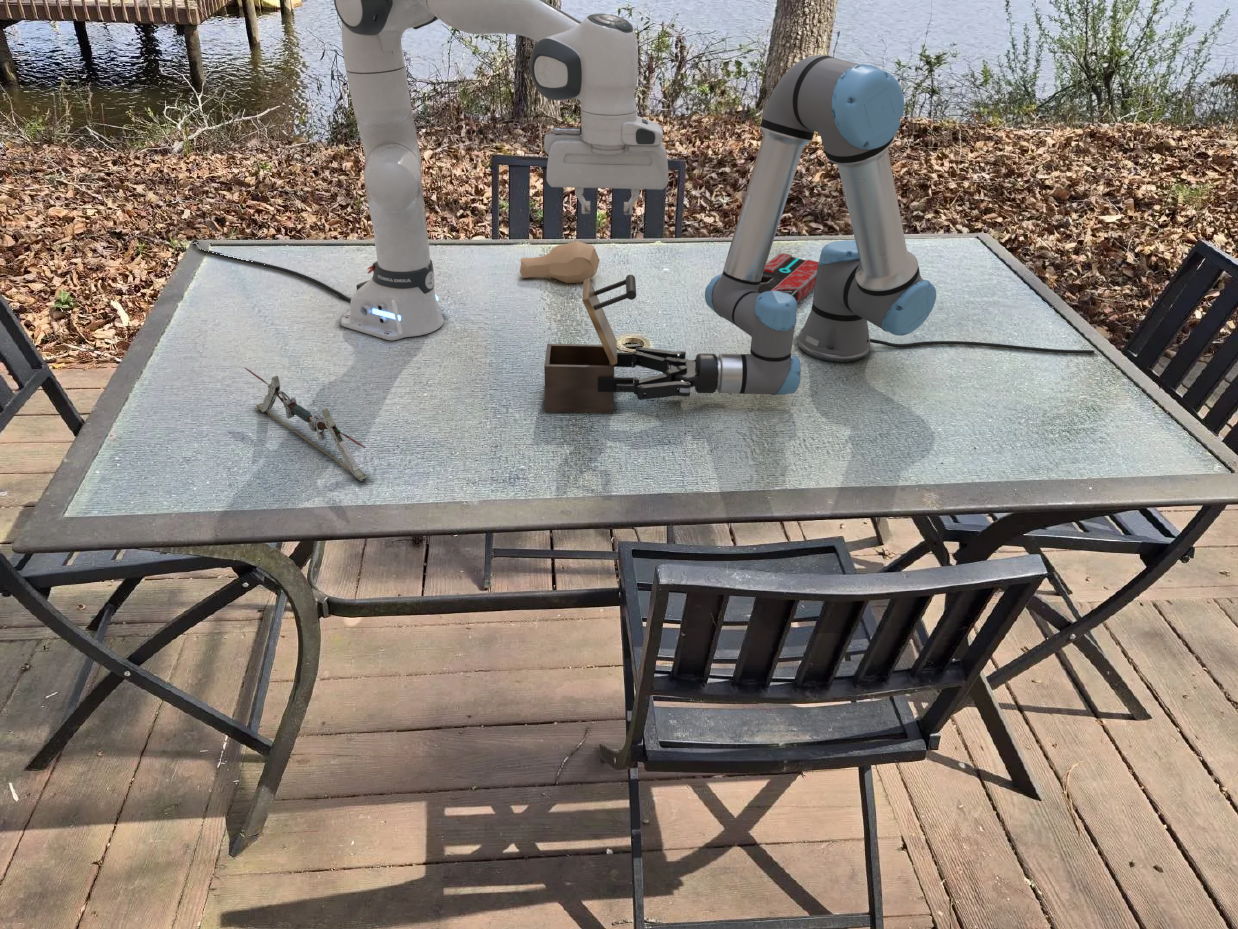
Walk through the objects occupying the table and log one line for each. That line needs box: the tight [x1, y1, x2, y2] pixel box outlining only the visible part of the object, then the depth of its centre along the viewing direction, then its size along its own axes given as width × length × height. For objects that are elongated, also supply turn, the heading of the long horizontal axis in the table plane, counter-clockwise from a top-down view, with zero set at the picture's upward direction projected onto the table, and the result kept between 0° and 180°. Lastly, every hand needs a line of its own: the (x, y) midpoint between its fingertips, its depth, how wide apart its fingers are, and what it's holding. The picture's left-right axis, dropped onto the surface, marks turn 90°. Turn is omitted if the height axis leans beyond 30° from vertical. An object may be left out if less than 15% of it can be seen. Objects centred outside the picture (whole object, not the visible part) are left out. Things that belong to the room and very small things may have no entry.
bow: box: [244, 367, 368, 482], centre depth 151 cm, size 39×2×10 cm, turn 47°
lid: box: [582, 274, 637, 365], centre depth 159 cm, size 14×9×9 cm
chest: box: [543, 343, 615, 414], centre depth 166 cm, size 13×9×10 cm
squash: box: [519, 240, 600, 284], centre depth 218 cm, size 11×20×9 cm, turn 90°
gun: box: [758, 252, 819, 304], centre depth 215 cm, size 4×31×19 cm
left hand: (606, 213), depth 149 cm, fingers open, 6 cm apart
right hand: (598, 371), depth 165 cm, fingers closed on chest, 9 cm apart
